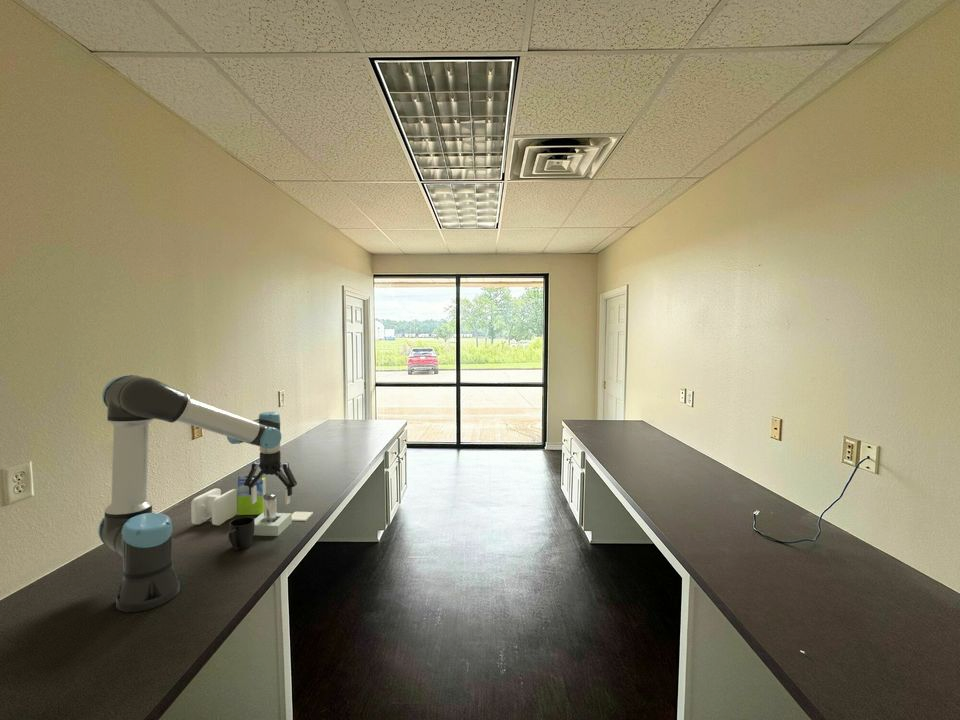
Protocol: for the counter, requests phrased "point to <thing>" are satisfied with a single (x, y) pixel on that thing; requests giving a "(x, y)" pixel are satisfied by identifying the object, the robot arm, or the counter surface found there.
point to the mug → (241, 532)
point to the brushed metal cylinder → (270, 507)
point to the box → (245, 498)
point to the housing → (272, 525)
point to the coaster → (301, 516)
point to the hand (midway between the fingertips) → (270, 503)
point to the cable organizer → (214, 506)
